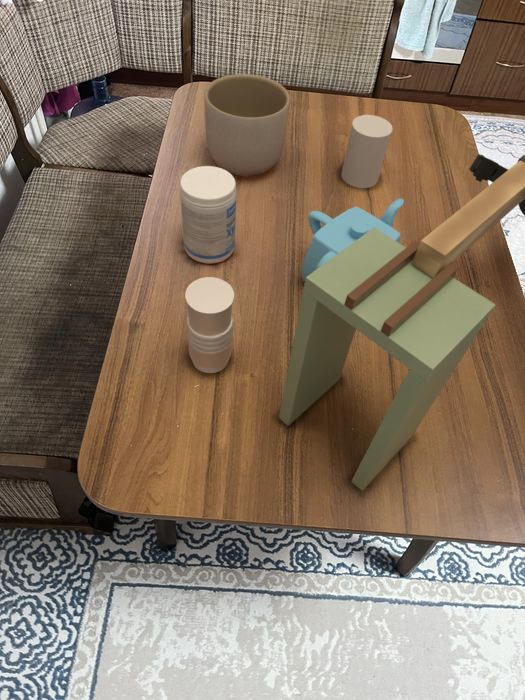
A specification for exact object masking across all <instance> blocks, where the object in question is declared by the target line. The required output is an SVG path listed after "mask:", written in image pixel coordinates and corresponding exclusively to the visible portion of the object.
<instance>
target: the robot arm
mask: <svg viewBox="0 0 525 700" xmlns="http://www.w3.org/2000/svg"><path fill="white" fill-rule="evenodd" d="M509 169H510V168H507V167H504V166H502V165H500V164H499V163H498V162H496V161H494V160H493V159H490V158H488V157H486V156H485V155H483V154H481V153H479V154H477V156H476V157H475V159H474V161H472V164H471V165H470V167H469V171H470V172H472V176H473V177H475V180H476V181H477V182H479V183H481V182H482V181H485V182H488V181H489V182H492V183H493V182H494V181H495V180H497V179H498V178H499V177H500V176H501V175H503V174H504V173H505V172H506V171H508V170H509ZM518 208H519V210H520V212H521V213H522V214H523V216H525V199H524V200H523V201H522V202H520V203H519V204H518Z"/></svg>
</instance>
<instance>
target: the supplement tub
mask: <svg viewBox="0 0 525 700" xmlns="http://www.w3.org/2000/svg"><path fill="white" fill-rule="evenodd" d="M179 183H180V184H179V185H180V186H179V196H180V197H179V198H180V210H181V224H182V236H183V237H182V238H183V239H182V240H183V248H184V251H185V252H186V254H187V255H188V256H189V257H190V258H191V259H192V260H194V261H196V262H199V263H203V264H217V263H221V262H223V261H225V260H227V259H228V258H230V257H231V256H232V254H233V253H234V251H235V246H236V219H237V218H236V217H237V214H236V213H237V187H236V185H237V183H236V179H235V177H234V175H233V174H231V173H229V172H228V171H226V170H224V169H222V168H221V167H219V166H214V165H213V166H212V165H201V166H196V167H193V168H190V169H189V170H187V171H185V173H183V175H182V176H181V178H180V182H179Z"/></svg>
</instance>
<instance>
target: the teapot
mask: <svg viewBox="0 0 525 700" xmlns="http://www.w3.org/2000/svg"><path fill="white" fill-rule="evenodd" d="M404 203H405V200H404V199H403V198H397V199H396V200H394V201H393V202H392V203H391V204H390V205H389V206H388V207H387V209H386V210H385V211H384V212H383V214H382V215H381V217H380V218H378V217H376V216H374V214H371V213H369V212H368V211H366V210H364V209H362V208H361V207H359V206H354V207H353V206H352V207H351V208H349V209H347V210H345V211H344V212H342V213H340V214H339V215H337V216H335V217H334V218H332V217H330V215H328V214H326V213H324V212H322V211H320V210H312V211H311V212H310V213H309V214H308V224H309V227H310V230H311V233H312V234H313V236H312V238H311V241H310V243H309V245H308V248H307V251H306V253H305V255H304V259H303V263H302V265H301V278H302V280H303V281H304V282H305V279H306V277H307V276H308V275H310V274H311V273H312V272H314V271H315V270H317V269H318V268H319V267H321V266H322V265H323V264H325V263H326V262H327V261H329V260H330V259H332V258H333V257H334V256H336V255H337V254H338V253H340V252H341V251H342V250H344V249H345V248H347V247H348V246H349V245H351V244H352V243H353V242H355V241H356V240H357V239H359V238H360V237H362V236H363V235H364V234H366V233H367V232H368V231H370V230H371V229H372V228H374V227H375V228H376V229H378V230H379V231H381V232H382V233H384V234H386V235H387V236H389V237H390V238H392V239H393V240H395V241H397V242H398V243H400V242H401V233H400V232H399V231H398V230H396V229H395V228H393V226H394V220H395V218H396V216H397V214H398V211H400V209H401V207H402V206H403V205H404ZM321 224H323V226H322V225H321ZM400 244H401V243H400Z"/></svg>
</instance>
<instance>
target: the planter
mask: <svg viewBox="0 0 525 700" xmlns="http://www.w3.org/2000/svg"><path fill="white" fill-rule="evenodd" d="M203 103H204V124H205V125H204V126H205V138H206V140H205V141H206V145H207V149H208V153H209V156H210V157H211V159H212V161H213V162H214V163H215V164H216V165H217V167H218V168H222V169H224V170H226V171H228V172H229V173H230V174H231V175H233V176H234V175H235V176H239V177H253V176H257V175H261V174H263V173H266V172H267V171H269V170H271V169H272V168H273V167H274V166H275V165H276V164H277V163H278V161H279V159H280V157H281V156H282V152H283V149H284V145H285V140H286V134H287V127H288V120H289V113H290V105H291V95H290V93H289V91H288V90H287V89H286V88H285V86H284V85H282V84H281V83H279V82H277V81H275V80H273V79H271V78H268V77H265V76H261V75H256V74H250V73H249V74H248V73H237V74H234V73H233V74H229V75H224V76H221V77H218V78H216V79H214V80H212V81H211V82H210V83H209V84H207V86H206V87H205V89H204V92H203Z"/></svg>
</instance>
